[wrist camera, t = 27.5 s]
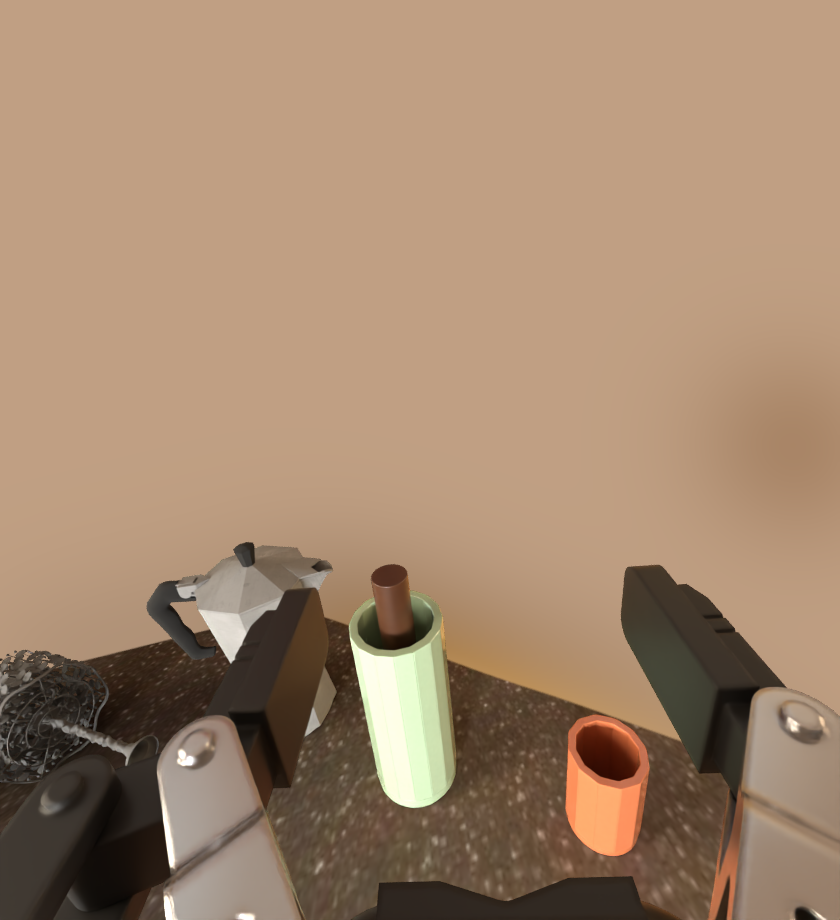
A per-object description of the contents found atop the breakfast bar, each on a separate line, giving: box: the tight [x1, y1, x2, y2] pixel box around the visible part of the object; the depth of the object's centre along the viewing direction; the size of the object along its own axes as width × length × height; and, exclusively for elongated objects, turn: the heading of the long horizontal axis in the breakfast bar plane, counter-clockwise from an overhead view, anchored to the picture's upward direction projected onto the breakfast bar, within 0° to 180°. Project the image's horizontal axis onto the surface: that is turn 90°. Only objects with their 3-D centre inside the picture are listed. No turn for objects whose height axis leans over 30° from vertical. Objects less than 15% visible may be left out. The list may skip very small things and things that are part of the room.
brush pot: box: [566, 714, 650, 856], centre depth 30 cm, size 5×5×7 cm
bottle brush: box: [371, 564, 416, 650], centre depth 32 cm, size 3×3×18 cm
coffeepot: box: [147, 542, 337, 736], centre depth 38 cm, size 15×9×18 cm, turn 98°
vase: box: [349, 590, 456, 808], centre depth 33 cm, size 6×6×15 cm
